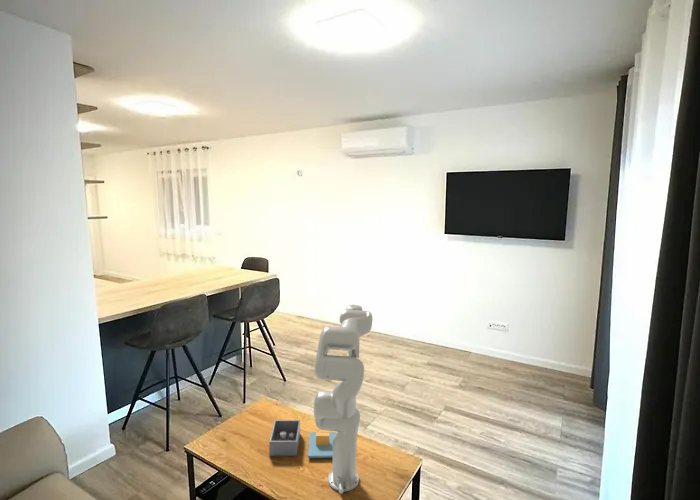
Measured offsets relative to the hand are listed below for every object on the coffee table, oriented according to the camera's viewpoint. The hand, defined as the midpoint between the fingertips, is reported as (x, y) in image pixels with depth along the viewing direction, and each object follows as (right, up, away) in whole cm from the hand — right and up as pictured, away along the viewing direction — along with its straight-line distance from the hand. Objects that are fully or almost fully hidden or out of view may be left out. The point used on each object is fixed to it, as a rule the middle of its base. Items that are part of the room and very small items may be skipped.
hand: (352, 366), depth 178 cm
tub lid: (-14, -35, -6) cm, 38 cm away
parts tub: (-31, -34, -5) cm, 46 cm away
